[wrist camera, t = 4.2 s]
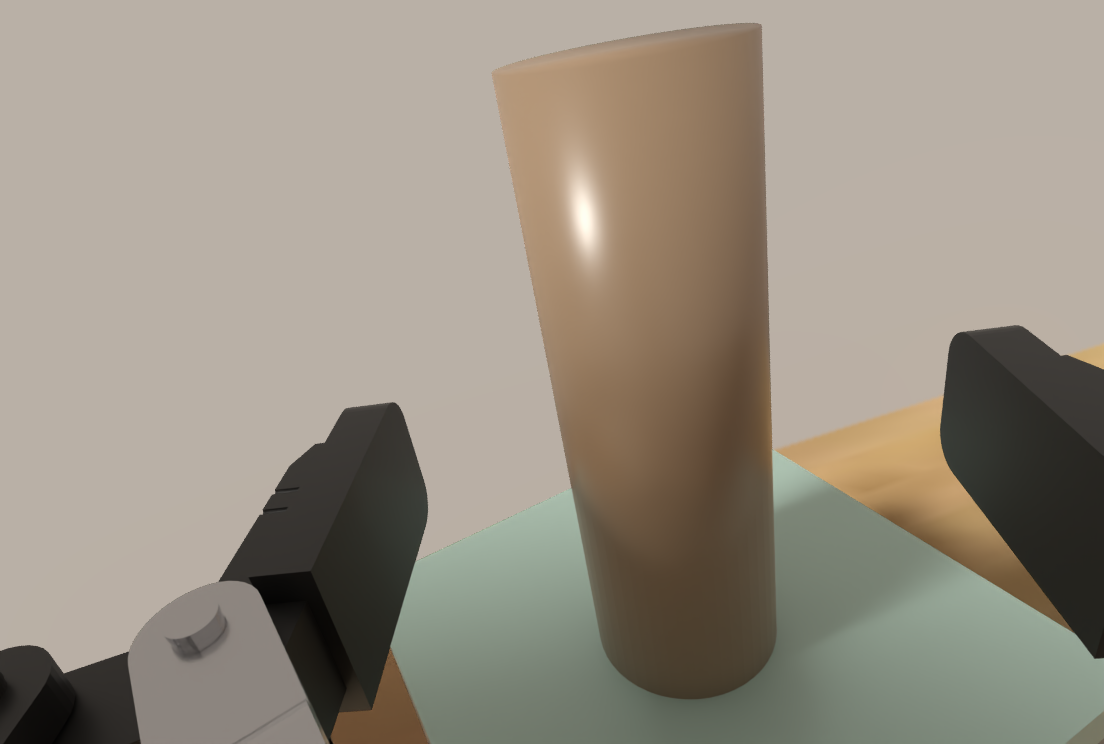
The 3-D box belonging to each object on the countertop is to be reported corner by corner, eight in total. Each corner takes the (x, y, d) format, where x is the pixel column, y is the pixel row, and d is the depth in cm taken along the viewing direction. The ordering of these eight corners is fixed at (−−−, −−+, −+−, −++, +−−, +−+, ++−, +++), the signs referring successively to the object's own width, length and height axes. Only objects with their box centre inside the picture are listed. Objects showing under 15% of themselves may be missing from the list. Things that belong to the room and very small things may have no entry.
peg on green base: (617, 1199, 9) (259, 250, 3) (388, 641, 18) (181, 117, 12) (1119, 748, 13) (1397, -76, 7) (724, 471, 22) (694, 8, 16)
